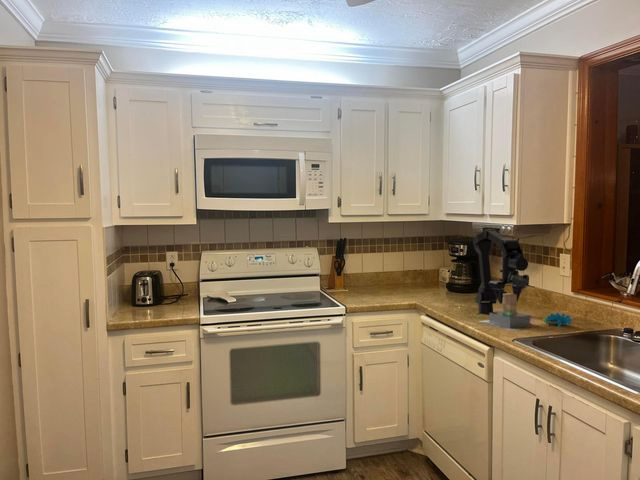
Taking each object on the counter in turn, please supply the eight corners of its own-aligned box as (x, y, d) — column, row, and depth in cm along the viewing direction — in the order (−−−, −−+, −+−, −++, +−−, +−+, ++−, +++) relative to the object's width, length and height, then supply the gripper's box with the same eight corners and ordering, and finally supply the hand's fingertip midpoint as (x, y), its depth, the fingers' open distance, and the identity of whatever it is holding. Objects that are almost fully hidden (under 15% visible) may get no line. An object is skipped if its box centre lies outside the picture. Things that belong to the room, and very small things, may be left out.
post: (502, 314, 214) (502, 293, 213) (509, 313, 216) (509, 292, 215) (509, 316, 210) (510, 295, 210) (516, 315, 212) (517, 294, 211)
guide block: (489, 322, 216) (489, 312, 216) (509, 319, 221) (509, 309, 221) (509, 328, 205) (510, 317, 205) (530, 325, 210) (530, 314, 210)
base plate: (477, 323, 219) (477, 321, 219) (507, 319, 226) (507, 317, 226) (511, 334, 201) (511, 331, 200) (542, 329, 208) (542, 326, 208)
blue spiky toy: (572, 323, 211) (570, 310, 204) (573, 335, 207) (571, 322, 201) (545, 324, 216) (541, 311, 210) (545, 335, 213) (542, 323, 206)
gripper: (507, 271, 201) (506, 308, 202) (539, 268, 209) (538, 303, 210) (487, 268, 211) (487, 303, 212) (519, 265, 219) (518, 299, 220)
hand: (508, 302), depth 213 cm, fingers open, 9 cm apart
